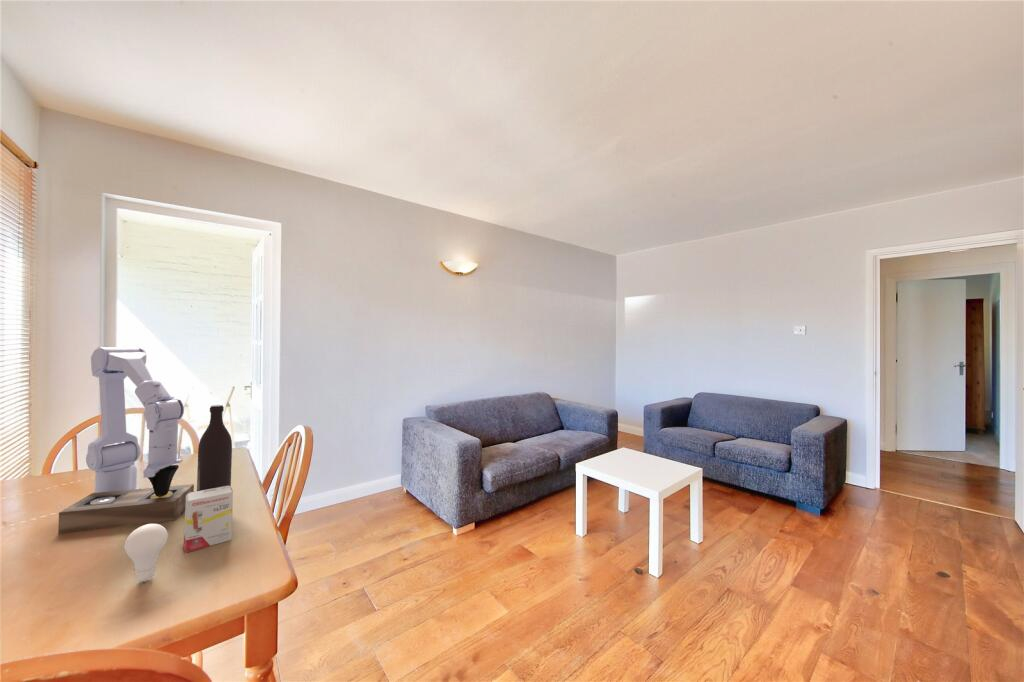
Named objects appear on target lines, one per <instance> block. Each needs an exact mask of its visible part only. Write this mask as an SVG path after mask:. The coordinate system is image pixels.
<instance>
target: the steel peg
mask: <svg viewBox="0 0 1024 682" xmlns="http://www.w3.org/2000/svg"><path fill="white" fill-rule="evenodd" d="M113 500H115V497H103V498H99V499H95V500H93V501H91V502H90V505H91V504H101V503H110V502H112V501H113Z"/></svg>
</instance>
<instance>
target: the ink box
mask: <svg viewBox="0 0 1024 682" xmlns="http://www.w3.org/2000/svg"><path fill="white" fill-rule="evenodd" d="M233 491H234V489H233V488H232V485H231V486H223V487H218V488H213V489H207V490H202V491H197V490H196V491H194V492H191V493H188V494H187V495H186V505H185V510H184V528H183V529H184V530H183V547H184V552H185V553H190V552H193V551H196V549H197V550H200V549H203V548H207V547H210V546H211V547H212V546H214V545H218V544H221V543H225V542H228V541H231V540H232V538H233V537H232V534H233V533H232V532H233V508H234V507H233V505H234V504H233V502H234V501H233V500H234V499H233V498H234V497H233V495H234V492H233Z"/></svg>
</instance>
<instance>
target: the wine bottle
mask: <svg viewBox="0 0 1024 682" xmlns="http://www.w3.org/2000/svg"><path fill="white" fill-rule="evenodd" d="M224 407H225V406H223V404H213V405H210V407H209V413H210V419H209V424H208V426H207V427H206V429H205V431H204V432H203V433H202V435H201V437H200V439H199V441H198V450H197V474H196V476H197V477H196V491H202V490H207V489H213V488H218V487H223V486H231V487H232V461H233V459H232V457H233V442H232V440H233V439H232V436H231V434H230V432H229V431H228V429H227V428H226V426H225V424H224V420H223V412H224V409H225V408H224Z"/></svg>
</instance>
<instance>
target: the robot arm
mask: <svg viewBox="0 0 1024 682" xmlns="http://www.w3.org/2000/svg"><path fill="white" fill-rule="evenodd" d="M146 363H147V353H146V351H145V349H143V347H142V346H136V347H133V346H132V347H127V346H125V347H103V346H98V347H97V348H96V349H94V351H93V352H92V354H91V356H90V365H91V367H90V368H91V375H92V376H93V377H95V378H98V383H99V398H100V399H99V402H100V422H101V423H100V425H101V427H100V428H101V434H100V435H99V436H98V437H97V438H95V439H94V440H93V441H90V443H88V445H87V453H86V456H85V463H86V467H88V469H89V470H91V471H94V472H95V473H94V474H95V475H94V493H98V492H110V491H121V490H133V489H141V487H137V478H138V475H137V474H138V473H137V472H138V469H137V467H136V465H135V462H137V461H138V460H139V458H140V456H141V453H142V452H141V447H140V444H139V439H138V437H137V436H136V435H133V434H131V433H129V432H127V418H126V401H125V400H126V398H125V379H126V378H129V380H130V381H131V382H132V383H133V384H134V386H136V388H135V390H134V393H135V395H136V397H137V398H138V400H139V401H140V402H141V404H142V406H143V407H144V412H143V416H144V420H145V422H146V428H147V430H149V431H148V454H147V456H148V458H147V462H146V465H145V466H146V467H145V468H144V470H143V476H142V477H143V478H144V479H146V478H147V479H148V480H149V483H151V486H152V488H153V489H154V492H155V495H156V496H162V495H166V494H167V493H168V491H169V488H170V486H172V482H173V479H174V476H175V475H176V473H177V471H178V469H179V468H180V467H179V466H180V465H178V464H180V463H182V462H183V458H180V454H181V453H180V452H179V453H178V437H179V436H178V434H179V431H178V430H179V420H180V419H182V418H183V416H184V412H185V407H184V404H183V402H182V400H181V399H180V398H176V397H175V396H171V395H170V393H169V392H168V391H167V389H166V388H165V387H164V385H163V384H162V382H161V381H159V380H153V378H152V376H151V373H150V372H149V369H148V368H147V366H146Z"/></svg>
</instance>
